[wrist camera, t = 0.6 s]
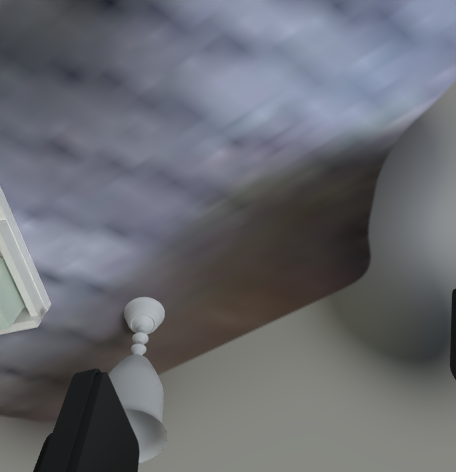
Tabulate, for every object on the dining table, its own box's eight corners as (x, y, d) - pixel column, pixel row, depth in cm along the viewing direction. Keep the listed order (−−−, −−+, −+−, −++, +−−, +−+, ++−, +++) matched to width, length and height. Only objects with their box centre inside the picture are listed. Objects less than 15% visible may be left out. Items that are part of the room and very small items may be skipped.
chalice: (112, 332, 50) (76, 462, 34) (118, 287, 48) (82, 404, 31) (169, 338, 52) (161, 467, 35) (177, 295, 49) (173, 412, 33)
